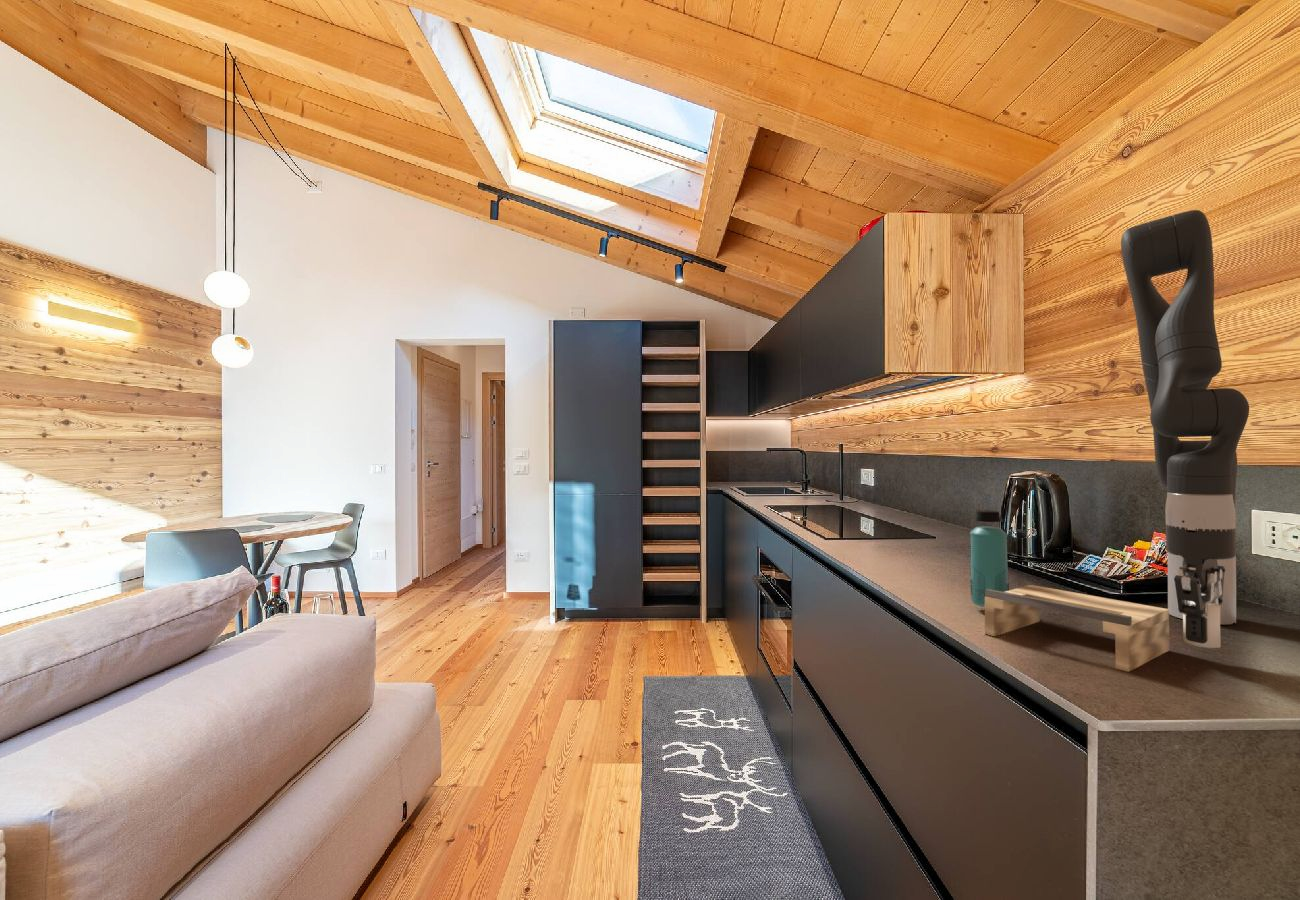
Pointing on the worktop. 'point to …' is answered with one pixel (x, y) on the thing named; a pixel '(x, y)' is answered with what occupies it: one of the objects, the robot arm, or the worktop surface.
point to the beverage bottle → (988, 558)
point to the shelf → (1132, 623)
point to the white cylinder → (1212, 627)
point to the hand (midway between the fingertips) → (1201, 637)
